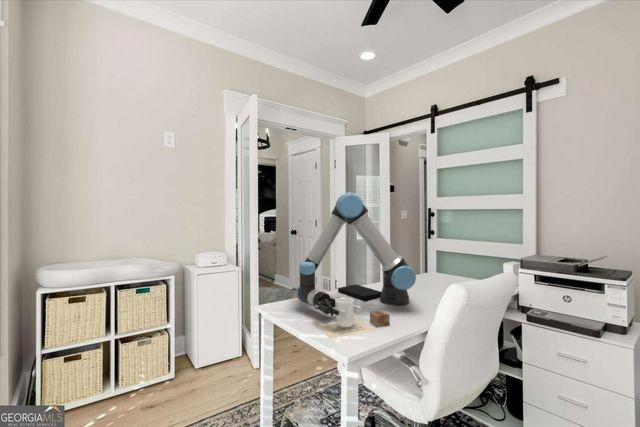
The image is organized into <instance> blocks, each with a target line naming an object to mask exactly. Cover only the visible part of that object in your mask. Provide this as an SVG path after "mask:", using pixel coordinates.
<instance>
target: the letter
mask: <svg viewBox="0 0 640 427" xmlns="http://www.w3.org/2000/svg"><path fill="white" fill-rule="evenodd" d="M316 326H317V327H318V328H319V329H320V330H321V332H323V333H324V334H325V335H326V337H328V338H329V339H335V338H340V337H341V338H342V337H347V336H353V335H358V334H364V333H369V332H374V331H377V330H376V329H374V328H373V327H371V326H370V325H369V324H367V323H366V322H365V321H363V320H361V319H360V318H353V325H352V326H350V327H341V326H338V325H337V321H333V322H332V321H331V322H327V323H322V324H321V323H320V324H316Z"/></svg>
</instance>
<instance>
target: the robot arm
mask: <svg viewBox="0 0 640 427" xmlns="http://www.w3.org/2000/svg"><path fill="white" fill-rule="evenodd" d="M330 215H331V216H330V218H329V220H328V221H327V223H326V225H325V227H324V228H323V230H322V232H321V233H320V235H319V236H318V239H317V240H316V242H315V243H314V245H313V247H312V248H311V250H310V252H309V253H308V255H307V256H306V258H305V260H304V261H303V262H300V263H299V268H298V270H299V286H298V287H297V288H296V291H295V297H296V299H298V300H299V301H300V302H302V303H305V304H308V305H310V306H312V307H314V309H316V310H319V311H320V312H322V313H324V314H325V315H327V316H328V315H330V316H331V317H333V316H334V315H335V316H336V315H337V316H339V317H342V318H344V319H345V318H346V311H343V310H341V309H338V308H336V307H335V299H336V298H333V297H331V296H330V295H329V294H328V293H326V292H324V291H321V290H318V289H317V288H316V271H317V269H318V267H320V264H321V262H322V261H323V259H324V258H325V256H326V254H327V253H328V251H329V250H330V248H331V246H332V244H333V243H334V241H335V239H336V237H337V236H338V234H339V233H340V231H341V229H342V228H343V226H344V224H347V225H348V226H353V227H354V229H355V231H357V233H358V234H359V236H360V237H361V238H362V239H363V241H364V242H365V243H366V245H367V246H368V248H369V250H370V251H371V252H372V253H373V255H374V256H375V257H376V259H377V260H378V261H379V263H380V264H381V265H382V267H381V270H382V289H381V291H380V292H381V295H380V298H379V302H381V303H383V304H385V305H389V306H391V305H392V306H405V305H408V304H409V303H410V296H409V293H408V290H410V289H412V287H413V286H414V285H415V283H416V280H417V274H416V272H415V270H414V269H413V268H412V267H411V266H410V265H409V264H408V263H407V262H406V261H407V260H406V258H405V257H403V255H399V254H397V253H396V252H395V250H394V249H393V247H392V246H391V245H390V243H389V242H388V241H387V239H386V238H385V237H384V235H383V234H382V233H381V231H380V230H379V229H378V228H377V225H376V224H375V223H374V222H373V221H372V219H371V218H370V216H369V210H368V209H367V207H366V206H365V204H364V202H363V200H362V198H361V197H360V196H359V195H358V194H356V193H354V192H345V193H343V194H341V196H339V197H338V198H337V200H336V203H335V206H334V208H333V209H332V211H331V213H330ZM337 298H340V297H337ZM354 313H356V314H358V315H362V306H359V305H356V304H354Z"/></svg>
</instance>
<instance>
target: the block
mask: <svg viewBox="0 0 640 427" xmlns="http://www.w3.org/2000/svg"><path fill="white" fill-rule="evenodd" d="M390 320H391V319H390V314H389V313H388V312H386V311H385V310H383V309H382V310H373V311H369V323H370V324H371V325H373V326H374V327H375V328H382V327H389V326H391V325H390V324H391V323H390Z"/></svg>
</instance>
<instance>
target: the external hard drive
mask: <svg viewBox="0 0 640 427" xmlns="http://www.w3.org/2000/svg"><path fill="white" fill-rule="evenodd" d="M337 289H338V290H337V293H339V294H341V295H345V296H347V297H349V298H352V299H356V300H359V301H362V302H365V303H366V302H369V301H374V300H377V299H380V295H381V291H379V290H376V289H373V288H369V287H366V286H363V285H360V284H356V283H355V284H351V285H346V286H340V287H338V288H337Z"/></svg>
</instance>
